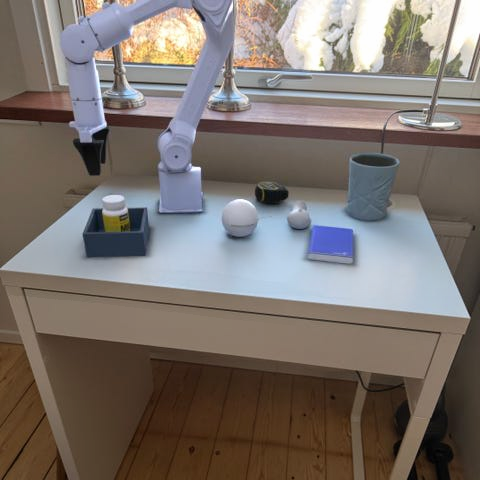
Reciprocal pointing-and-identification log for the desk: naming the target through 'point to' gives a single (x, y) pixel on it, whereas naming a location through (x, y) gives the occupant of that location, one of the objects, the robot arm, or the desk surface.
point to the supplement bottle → (115, 214)
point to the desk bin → (116, 235)
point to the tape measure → (270, 192)
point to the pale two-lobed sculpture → (298, 215)
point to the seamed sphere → (240, 218)
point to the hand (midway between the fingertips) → (97, 169)
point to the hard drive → (331, 244)
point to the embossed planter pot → (370, 185)
